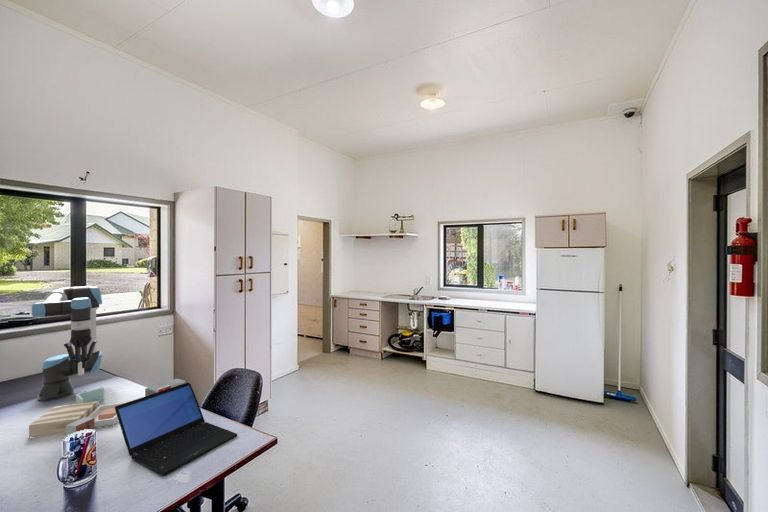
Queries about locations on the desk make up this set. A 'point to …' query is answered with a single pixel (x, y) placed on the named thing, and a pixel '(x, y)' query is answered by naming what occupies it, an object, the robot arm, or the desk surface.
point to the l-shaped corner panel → (90, 396)
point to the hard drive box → (163, 386)
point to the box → (106, 421)
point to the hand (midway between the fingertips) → (81, 374)
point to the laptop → (168, 429)
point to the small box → (80, 425)
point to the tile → (107, 414)
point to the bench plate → (60, 418)
